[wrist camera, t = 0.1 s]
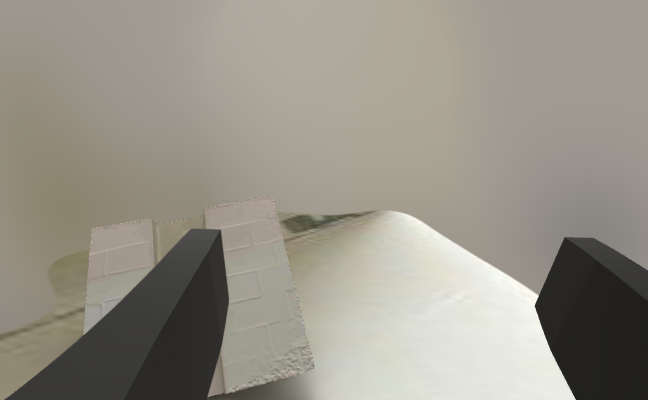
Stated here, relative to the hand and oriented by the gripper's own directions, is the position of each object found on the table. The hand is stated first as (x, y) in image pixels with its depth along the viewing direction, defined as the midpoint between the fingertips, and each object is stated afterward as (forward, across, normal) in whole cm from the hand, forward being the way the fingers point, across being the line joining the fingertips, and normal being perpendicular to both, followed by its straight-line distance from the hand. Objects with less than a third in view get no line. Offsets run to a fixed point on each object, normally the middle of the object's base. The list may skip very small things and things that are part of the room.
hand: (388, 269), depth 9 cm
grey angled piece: (+16, +11, +23) cm, 30 cm away
